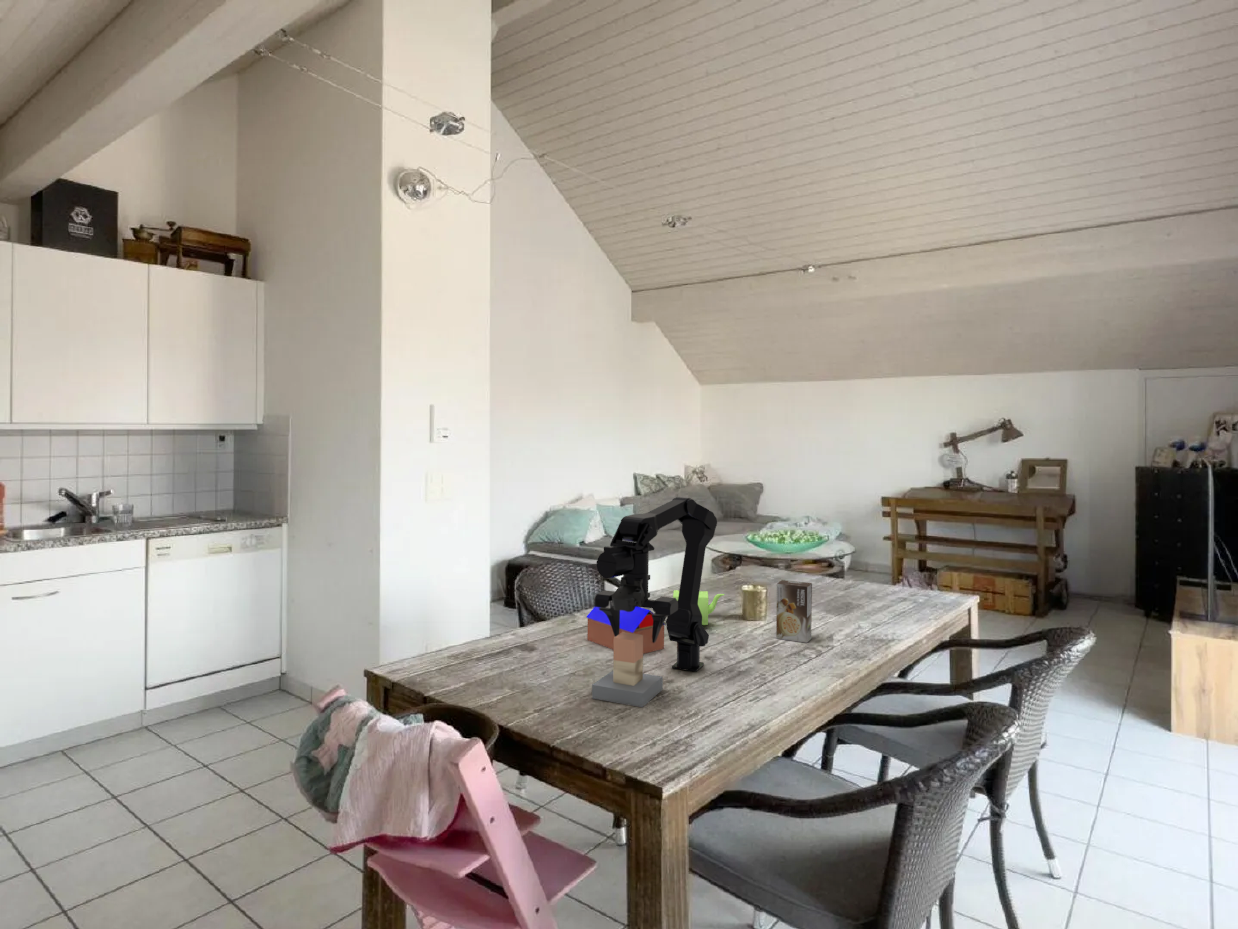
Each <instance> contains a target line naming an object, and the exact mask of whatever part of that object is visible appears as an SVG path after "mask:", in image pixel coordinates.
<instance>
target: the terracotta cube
mask: <svg viewBox="0 0 1238 929" xmlns="http://www.w3.org/2000/svg"><path fill="white" fill-rule="evenodd" d="M612 656H613V659H612V660H617V661H623V662H630V663H635V662H637V661H638V660H639V659H641V658H642V657H643V658H644V654H643V635H640V634H633V633H625V632H622V633H621V634H619V635H617V636H616V637H614V649H613V655H612Z"/></svg>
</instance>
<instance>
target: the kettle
mask: <svg viewBox="0 0 1238 929" xmlns="http://www.w3.org/2000/svg"><path fill="white" fill-rule="evenodd" d="M672 593H673V594H672V598H676V600H677V601H678V596H679V590H676V589H674V590H673V592H672ZM722 596H725V594H724V593H717V594H716V595H714V597H713V599H712V602H711V603H710V604H709V591H707V590H706V591H705V590H704V591H702V590H699V597H698V606H699V609H700V611H701V614H702V626H708V625H709V615H710V614H712V613H713V612H714V611H715V609H716V606H717V604H718V601H719V599H720V598H721V597H722Z"/></svg>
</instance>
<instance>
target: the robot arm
mask: <svg viewBox="0 0 1238 929" xmlns="http://www.w3.org/2000/svg"><path fill="white" fill-rule="evenodd" d="M676 521H678V522H679V524H680V525H681V534H682V537H683V539H684V541H685V550H684V557H683V564H682V570H681V575H680V576H681V577H680V584H679V596H678V601H677V600H676V598H673V597H670V596H660V597H658V598H657V599H649V598H651V592H649V581H651V574H649V560H650V558H649V554H650V553H649V552H651V551H654V550H655V546H653V545H652V544H651V543H650V542H651V541H652V540H654V539H655V537H656V536H657V535H658V532H659V530H661V529H662V528H664V527H666V526H668V525H669V524H672V523H673V522H676ZM717 525H718V519H717V517H716V515H715V514H714V512H713V511H711V510H709V509H708V508H707V507H705V506H703V505H702V504H699V503H697V502H696V500H694V499H693V498H690V497H683V496H676V497H674V498H673V499H672V500H670V501H669V502H666V503H664V504H662V505H660V506H658V507H656V508H654V509H652V510H650V511H648V512H645V513H634V514H629V515H624V516H623V517H622V518H621V519H620V523H619V524H618V527H617V529H616V531H615V533H614V534H613V537H612V539H611V542H610V543H609V545H608V546H604V547H603V552H601V553H600V554H599V555H598V557H597V560H596V562H595V563H596V570H597V571H598V573H599V575H600V576H601V577H602V578H604V579H612V578H616V577H620V584H619V587H617V589H616V590H615V591H613V590H603V591H599V592H598V593H596V594H595V595H594V598H593V607H600V608H599V610H600V611H603V612H604V613H605V614H606V615H607V617H608V619H609V621H610V624H611V627H612V630H613V633H614V636H615V637H616V636H617V635H619V628H620V610H624V611H626V612H631V611H633V610H634V609H635V607H641V608H644V609H647V608H648V609H652V612H653V613H654V614H653V615H652V618H653V631H652V642H653V643H655V642H656V639H657V637H658V634H659V632H660V629H661V627H662V625H663V623H664V622H665V623H664V624H666V630H667V634H668V639H669V641H670V642H675V643H676V662H675V663H673V665H671V668H672V669H677V670H683V671H688V672H689V671H690V672H698V671H699V670H700V669H702V667H703V666H704V665H705V662H703V661H700V660H701V659H700V656H701V647H706V645H707V644H708V643H709V638H710V634H709V633H708V632H707V630H706V629H705V627H704V625H702V614H701V611H700V609H699V606H698V597H699V591H701V590H700V589H701V584H702V583H701V582H702V575H703V570H704V561H705V556H706V555H705V554H706V548H707V545H708V544H709V543H710V542H711V541H712V539H713V538H714V536H715V532H716V530H717V529H716V528H717ZM621 576H622V577H621Z"/></svg>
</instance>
